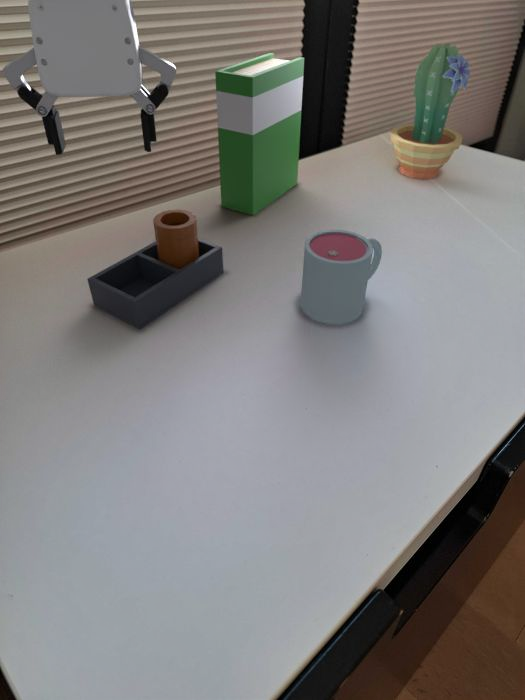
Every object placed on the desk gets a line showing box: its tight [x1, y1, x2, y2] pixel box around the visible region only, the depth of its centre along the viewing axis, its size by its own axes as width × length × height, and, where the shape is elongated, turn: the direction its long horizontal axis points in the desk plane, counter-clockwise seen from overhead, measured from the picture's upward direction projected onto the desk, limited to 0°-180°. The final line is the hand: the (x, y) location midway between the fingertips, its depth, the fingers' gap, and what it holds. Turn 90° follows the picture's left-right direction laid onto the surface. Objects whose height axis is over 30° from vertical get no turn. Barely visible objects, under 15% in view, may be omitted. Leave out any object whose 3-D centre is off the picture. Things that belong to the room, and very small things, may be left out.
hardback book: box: [214, 52, 305, 216], centre depth 97 cm, size 18×7×24 cm, turn 148°
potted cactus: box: [390, 43, 471, 180], centre depth 107 cm, size 15×15×25 cm
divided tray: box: [86, 237, 224, 331], centre depth 77 cm, size 10×18×5 cm, turn 144°
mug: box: [300, 229, 383, 325], centre depth 73 cm, size 14×9×10 cm
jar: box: [152, 209, 199, 270], centre depth 77 cm, size 6×6×9 cm
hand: (105, 149), depth 58 cm, fingers open, 9 cm apart
